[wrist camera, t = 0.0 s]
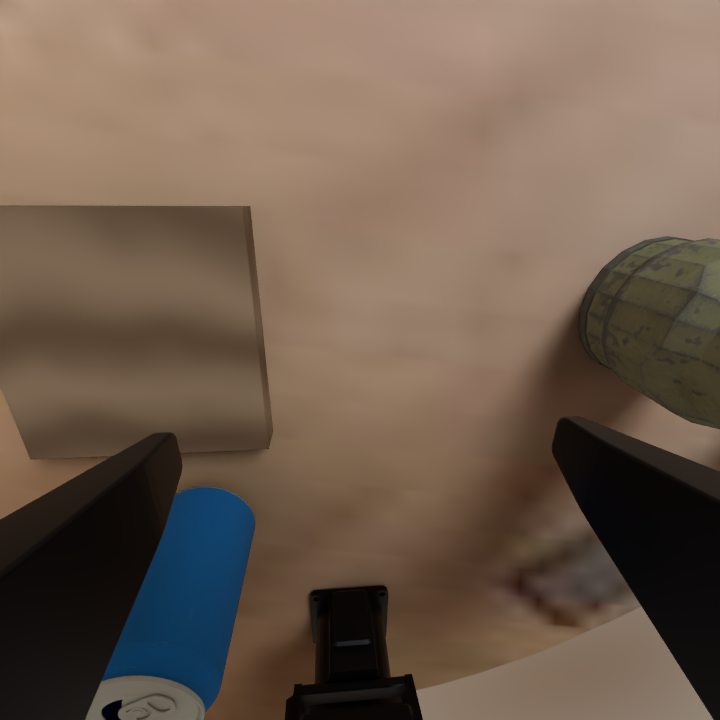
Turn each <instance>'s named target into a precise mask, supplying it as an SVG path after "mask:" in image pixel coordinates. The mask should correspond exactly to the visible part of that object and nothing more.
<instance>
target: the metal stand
mask: <svg viewBox="0 0 720 720" xmlns="http://www.w3.org/2000/svg"><path fill="white" fill-rule="evenodd" d="M0 387H1V389H2V391H3V394H4V396H5V399H6V401H7V403H8V406H9V408H10V411H11V413H12V416H13V418H14V420H15V423H16V425H17V428H18V430H19V432H20V435H21V437H22V440H23V442H24V445H25V447H26V449H27V452H28V454H29V457H30V459H52V458H75V457H98V456H114V455H116V454H117V453H119V452H121V451H123V450H125V449H126V448H128V447H130V446H132V445H133V444H135V443H137V442H139V441H141V440H142V439H144V438H146V437H148V436H149V435H151V434H153V433H158V432H172V433H174V434H175V435H176V438H177V442H178V446H179V451H180V453H190V452H213V451H236V450H258V449H269V446H270V442H271V437H272V433H273V427H272V417H271V407H270V397H269V387H268V378H267V368H266V358H265V348H264V338H263V329H262V319H261V309H260V299H259V289H258V279H257V270H256V260H255V250H254V240H253V230H252V220H251V211H250V206H0Z"/></svg>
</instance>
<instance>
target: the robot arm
mask: <svg viewBox="0 0 720 720" xmlns="http://www.w3.org/2000/svg"><path fill="white" fill-rule="evenodd" d="M552 453H553V456H554V458H555V460H556V462H557V464H558V466H559V468H560V470H561V472H562V474H563V476H564V478H565V480H566V482H567V484H568V486H569V488H570V490H571V492H572V494H573V496H574V498H575V500H576V502H577V503H578V505H579V507H580V509H581V511H582V512H583V514H584V516H585V517H586V519H587V521H588V522H589V524H590V526H591V527H592V529H593V530H594V532H595V533H596V535H597V537H598V538H599V540H600V541H601V543H602V544H603V546H604V548H605V549H606V551H607V552H608V554H609V556H610V557H611V559H612V560H613V562H614V563H615V565H616V567H617V568H618V570H619V571H620V573H621V574H622V576H623V578H624V579H625V581H626V582H627V584H628V585H629V587H630V589H631V590H632V592H633V593H634V595H635V597H636V598H637V600H638V601H639V603H640V604H641V606H642V608H643V609H644V611H645V612H646V614H647V615H648V617H649V619H650V620H651V622H652V623H653V625H654V626H655V628H656V630H657V631H658V633H659V634H660V636H661V638H662V639H663V641H664V642H665V644H666V645H667V647H668V649H669V650H670V652H671V653H672V655H673V656H674V658H675V660H676V661H677V663H678V664H679V666H680V667H681V669H682V671H683V672H684V674H685V675H686V677H687V679H688V680H689V682H690V683H691V685H692V686H693V688H694V690H695V691H696V693H697V694H698V696H699V697H700V699H701V701H702V702H703V703H704V705H705V707H706V708H707V710H708V712H709V713H710V715H711V716H712V718H713V719H714V720H720V472H719V471H717V470H714V469H712V468H709V467H707V466H704V465H702V464H699V463H696V462H694V461H691V460H689V459H686V458H684V457H681V456H679V455H676V454H673V453H671V452H668V451H666V450H663V449H661V448H658V447H656V446H653V445H650V444H648V443H645V442H643V441H640V440H638V439H635V438H633V437H630V436H627V435H625V434H622V433H620V432H617V431H615V430H612V429H610V428H607V427H604V426H602V425H599V424H597V423H594V422H592V421H589V420H587V419H584V418H581V417H578V416H571V417H562V418H560V419H559V421H558V423H557V427H556V431H555V435H554V439H553V443H552ZM181 472H182V460H181V455H180V451H179V446H178V442H177V438H176V435H175V434H174V433H172V432H158V433H153V434H151V435H149V436H148V437H146V438H144V439H142V440H141V441H139V442H137V443H135V444H133V445H132V446H130V447H128V448H126V449H125V450H123V451H121V452H119V453H117V454H116V455H114V456H112V457H110V458H109V459H107V460H105V461H103V462H102V463H100V464H98V465H96V466H94V467H93V468H91V469H89V470H87V471H86V472H84V473H82V474H80V475H78V476H77V477H75V478H73V479H71V480H70V481H68V482H66V483H64V484H63V485H61V486H59V487H57V488H55V489H54V490H52V491H50V492H48V493H47V494H45V495H43V496H41V497H39V498H38V499H36V500H34V501H32V502H31V503H29V504H27V505H25V506H23V507H22V508H20V509H18V510H16V511H15V512H13V513H11V514H9V515H8V516H6V517H4V518H2V519H0V720H85V719H86V716H87V714H88V712H89V709H90V707H91V704H92V702H93V700H94V697H95V695H96V693H97V690H98V688H99V686H100V683H101V681H102V678H103V676H104V674H105V671H106V669H107V667H108V664H109V662H110V659H111V657H112V655H113V652H114V650H115V648H116V645H117V643H118V640H119V638H120V636H121V633H122V631H123V629H124V626H125V624H126V622H127V619H128V617H129V614H130V612H131V610H132V607H133V605H134V603H135V600H136V598H137V595H138V593H139V591H140V588H141V586H142V584H143V581H144V579H145V577H146V574H147V572H148V569H149V567H150V565H151V562H152V560H153V558H154V555H155V553H156V550H157V548H158V546H159V543H160V541H161V538H162V536H163V533H164V530H165V526H166V523H167V520H168V517H169V513H170V510H171V506H172V503H173V500H174V496H175V493H176V489H177V486H178V483H179V479H180V476H181ZM310 603H311V617H312V631H313V642H314V643H315V644H316V660H315V684H310V685H302V684H295V685H294V694H293V696H292V697H290V698H289V699H287V700H286V713H285V720H423V719H422V714H421V710H420V706H419V702H418V698H417V693H416V689H415V685H414V681H413V677H412V674H405V675H404V676H400V677H391V676H390V668H389V661H388V653H387V646H386V638H385V637H386V626H387V605H388V590H387V587H385V586H373V587H359V588H345V589H331V590H317V591H313V592H312V593H311V595H310Z"/></svg>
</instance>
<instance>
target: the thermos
mask: <svg viewBox="0 0 720 720" xmlns="http://www.w3.org/2000/svg"><path fill="white" fill-rule="evenodd" d="M579 332H580V336H581V340H582V343H583V347H584V348H585V349H586V351H587V352H588V353H589V354H590V356H591V357H592V358H593V359H594V360H595V361H597V362H598V363H600V364H602V365H604V366H606V367H608V368H609V369H611V370H613V371H614V373H615V374H616V375H617V377H618V378H619V379H620V380H622V381H623V382H625V383H627V384H628V385H630V386H631V387H633V388H634V389H636V390H638V391H639V392H641V393H642V394H644V395H645V396H647V397H649V398H650V399H652V400H653V401H655V402H656V403H658V404H660V405H661V406H663V407H664V408H666V409H667V410H669V411H671V412H672V413H674V414H676V415H678V416H680V417H682V418H684V419H686V420H688V421H689V422H692V423H696V424H700V425H704V426H709V427H713V428H717V429H720V240H718V239H709V238H708V239H703V240H697V241H693V240H687V239H681V238H676V237H668V236H667V237H661V238H656V239H650V240H645V241H643V242H640V243H638V244H636V245H634V246H632V247H630V248H628V249H626V250H624V251H622V252H621V253H620V254H619V255H618V256H616V257H615V258H614V259H613V260H612V261H611V262H609V263H608V264H607V265H606V266H605V267H604V268H603V269H602V270H601V272H600V273H599V274H598V276H597V277H596V278H595V280H594V281H593V283H592V284H591V285H590V287H589V288H588V291H587V293H586V296H585V298H584V301H583V304H582V306H581V309H580V319H579Z"/></svg>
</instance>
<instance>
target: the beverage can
mask: <svg viewBox="0 0 720 720" xmlns="http://www.w3.org/2000/svg"><path fill="white" fill-rule="evenodd" d="M254 529H255V517H254V514H253V512H252V510H251V508H250V507H249V505H248V504H247V503H246V502H245V501H244V500H243V499H242V498H240V497H239V496H237V495H236V494H234V493H232V492H230V491H227V490H224V489H220V488H215V487H195V488H191V489H187V490H184V491H182V492H180V493H178V494H176V495H175V496H174V500H173V503H172V506H171V510H170V513H169V517H168V520H167V523H166V526H165V530H164V533H163V536H162V538H161V541H160V543H159V546H158V548H157V550H156V553H155V555H154V558H153V560H152V562H151V565H150V567H149V569H148V572H147V574H146V577H145V579H144V581H143V584H142V586H141V588H140V591H139V593H138V595H137V598H136V600H135V603H134V605H133V607H132V610H131V612H130V614H129V617H128V619H127V622H126V624H125V626H124V629H123V631H122V633H121V636H120V638H119V640H118V643H117V645H116V648H115V650H114V652H113V655H112V657H111V659H110V662H109V664H108V667H107V669H106V671H105V674H104V676H103V678H102V681H101V683H100V686H99V688H98V690H97V693H96V695H95V697H94V700H93V702H92V704H91V707H90V709H89V712H88V714H87V716H86V719H85V720H204V717H205V712H206V711H207V710H208V709H209V707H210V706H211V705H212V704H213V702H214V701H215V699H216V697H217V695H218V693H219V691H220V687H221V683H222V678H223V673H224V669H225V664H226V659H227V655H228V650H229V646H230V641H231V636H232V632H233V627H234V622H235V618H236V613H237V608H238V604H239V599H240V594H241V590H242V585H243V581H244V576H245V571H246V567H247V562H248V557H249V553H250V548H251V543H252V539H253V534H254Z"/></svg>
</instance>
